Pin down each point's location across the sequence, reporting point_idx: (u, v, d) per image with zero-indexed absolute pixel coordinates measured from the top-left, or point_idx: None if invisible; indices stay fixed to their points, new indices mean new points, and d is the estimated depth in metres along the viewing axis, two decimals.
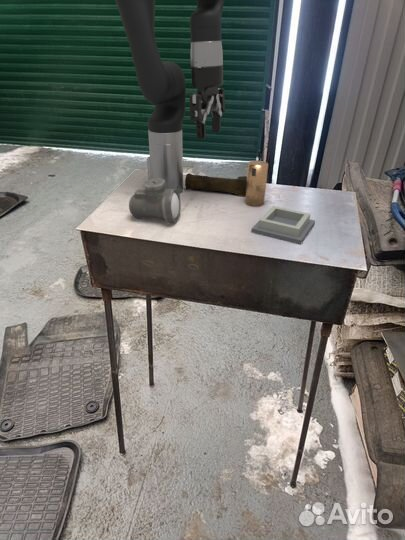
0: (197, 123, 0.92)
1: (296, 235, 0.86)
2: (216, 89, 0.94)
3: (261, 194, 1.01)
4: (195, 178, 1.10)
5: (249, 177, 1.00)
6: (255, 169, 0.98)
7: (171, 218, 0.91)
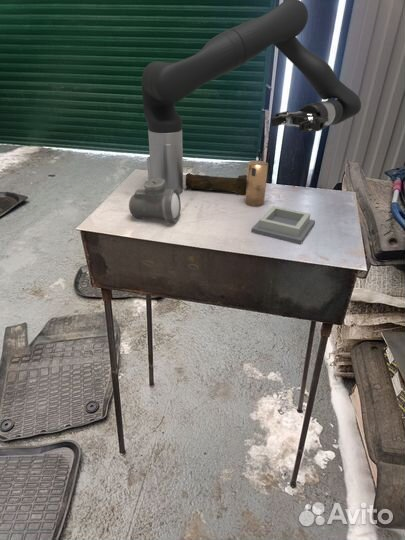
0: (312, 125, 1.01)
1: (296, 235, 0.86)
2: None
3: (261, 194, 1.01)
4: (195, 178, 1.10)
5: (249, 177, 1.00)
6: (255, 169, 0.98)
7: (171, 218, 0.91)
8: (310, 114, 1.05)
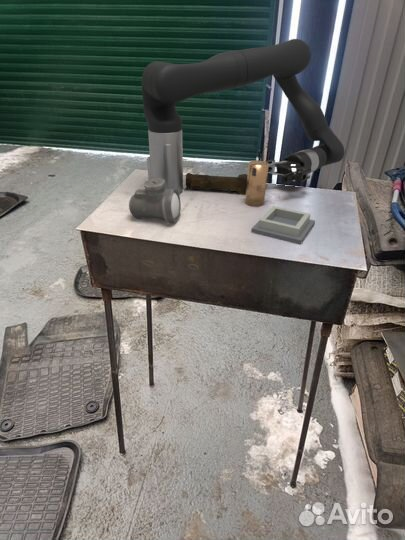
0: (295, 176, 1.05)
1: (296, 235, 0.86)
2: None
3: (261, 194, 1.01)
4: (196, 177, 1.10)
5: (249, 177, 1.00)
6: (255, 169, 0.98)
7: (171, 218, 0.91)
8: (294, 165, 1.09)
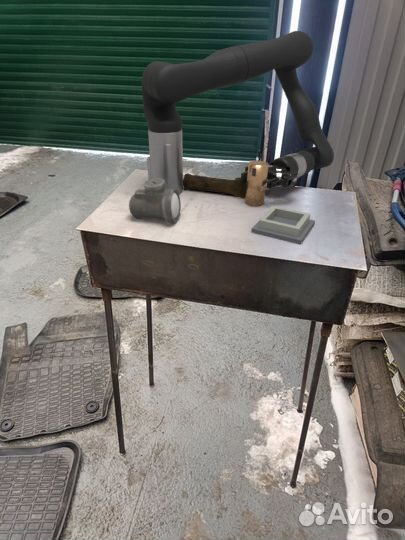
0: (280, 182, 1.01)
1: (296, 235, 0.86)
2: None
3: (261, 194, 1.01)
4: (193, 178, 1.10)
5: (249, 177, 1.00)
6: (255, 169, 0.97)
7: (171, 218, 0.91)
8: (279, 169, 1.04)
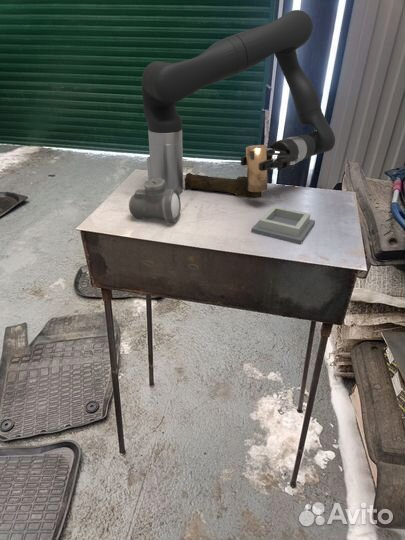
0: (274, 164, 0.97)
1: (296, 235, 0.86)
2: None
3: (262, 178, 0.98)
4: (195, 178, 1.11)
5: (248, 161, 0.97)
6: (253, 152, 0.95)
7: (171, 218, 0.91)
8: (278, 152, 1.01)
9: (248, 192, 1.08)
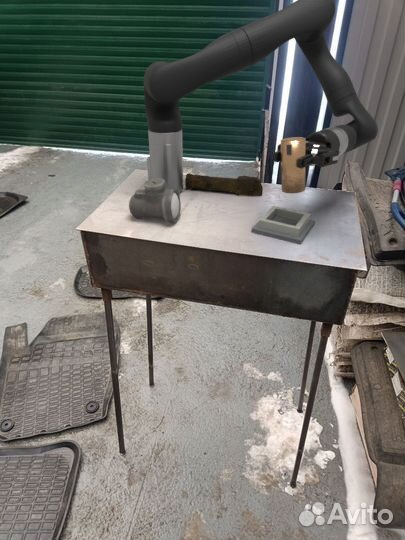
0: (314, 160, 0.81)
1: (296, 235, 0.86)
2: None
3: (300, 177, 0.83)
4: (195, 178, 1.11)
5: (284, 157, 0.82)
6: (290, 146, 0.79)
7: (171, 218, 0.91)
8: (317, 145, 0.85)
9: (249, 191, 1.09)
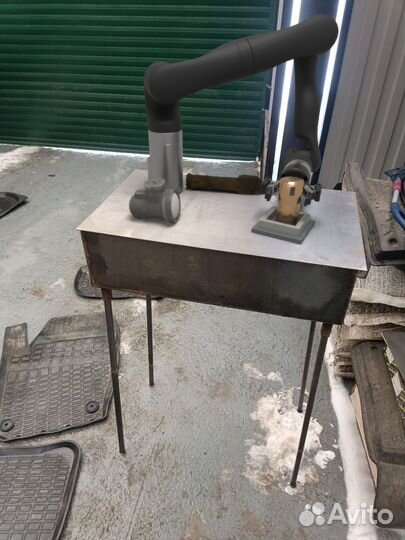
0: (313, 196, 0.88)
1: (296, 235, 0.86)
2: None
3: (297, 214, 0.88)
4: (196, 177, 1.11)
5: (285, 197, 0.86)
6: (294, 188, 0.84)
7: (171, 218, 0.91)
8: None
9: (250, 190, 1.09)
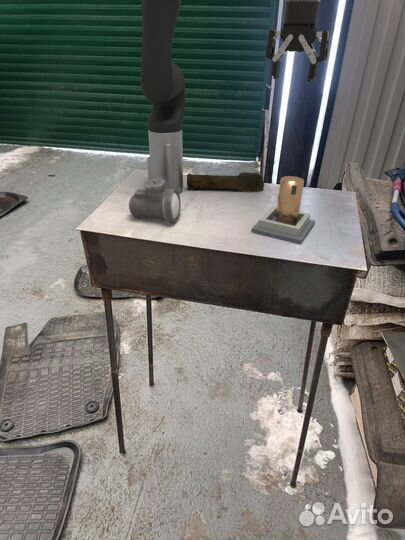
0: (317, 63, 0.89)
1: (296, 235, 0.86)
2: None
3: (298, 213, 0.89)
4: (197, 177, 1.11)
5: (286, 196, 0.86)
6: (296, 186, 0.84)
7: (171, 218, 0.91)
8: (304, 41, 0.87)
9: (251, 187, 1.11)
